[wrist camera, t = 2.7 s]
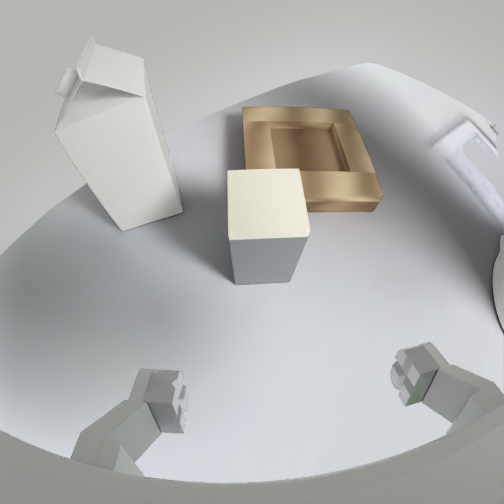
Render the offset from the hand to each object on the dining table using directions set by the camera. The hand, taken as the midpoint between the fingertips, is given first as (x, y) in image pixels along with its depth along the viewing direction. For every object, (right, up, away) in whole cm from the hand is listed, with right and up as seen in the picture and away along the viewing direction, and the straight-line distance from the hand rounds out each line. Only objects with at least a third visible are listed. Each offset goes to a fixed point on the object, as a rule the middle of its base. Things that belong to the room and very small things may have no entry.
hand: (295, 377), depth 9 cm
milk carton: (-13, +10, +21) cm, 27 cm away
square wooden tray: (+5, +15, +23) cm, 28 cm away
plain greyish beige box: (-1, +4, +18) cm, 18 cm away
